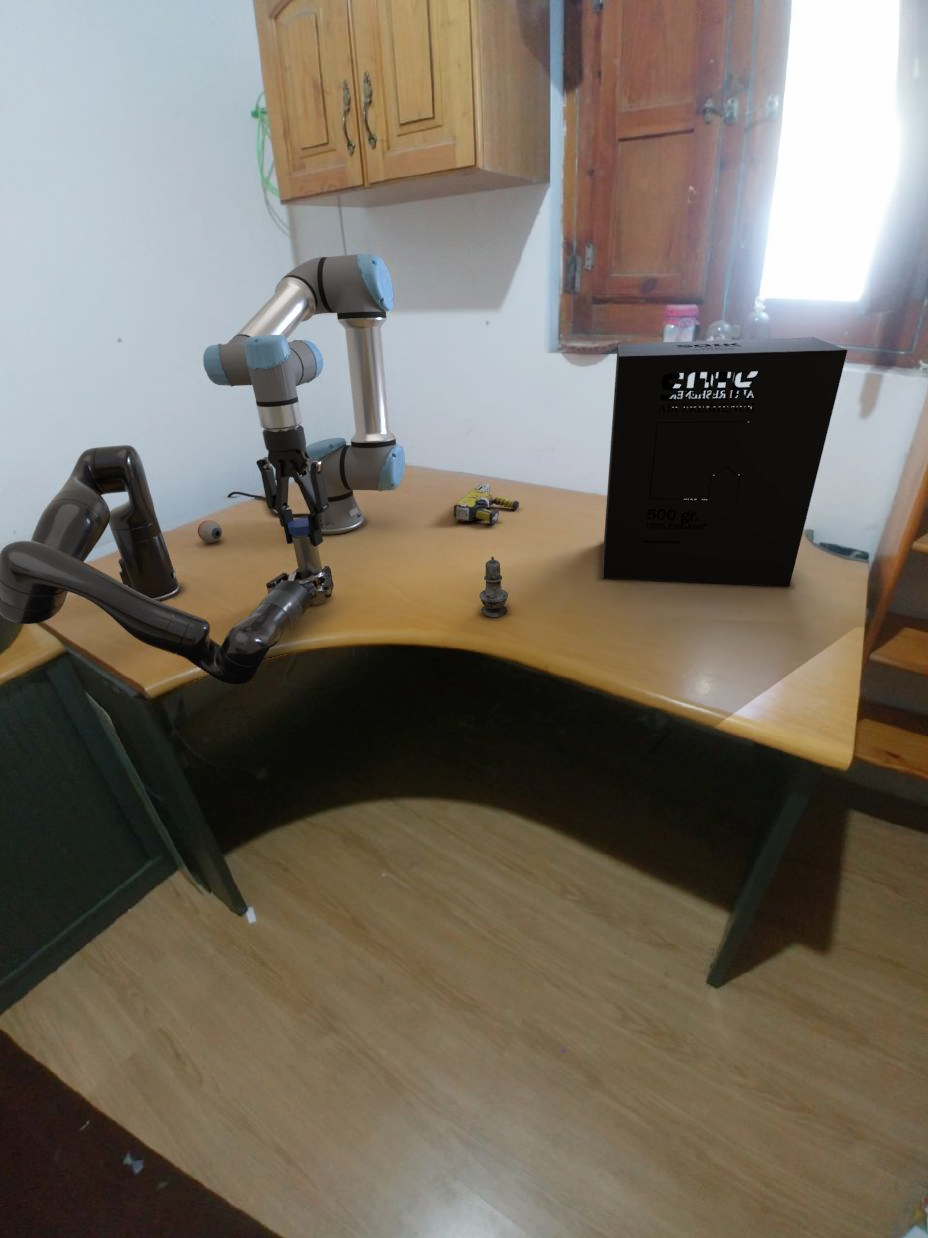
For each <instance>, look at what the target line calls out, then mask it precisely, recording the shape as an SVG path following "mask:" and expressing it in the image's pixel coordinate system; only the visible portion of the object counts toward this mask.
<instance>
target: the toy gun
mask: <svg viewBox="0 0 928 1238" xmlns="http://www.w3.org/2000/svg"><path fill="white" fill-rule="evenodd" d="M493 505H495V506H500V507H504V508H510V509H512V510H514V511H516V510H518V509H519V507H520V502H519V501H518V500H512V499H508V498H504V497H500V496H496V497H495V498H493V496H492V494H491V485H490V484H488V483H486V484H485V483H482V482H481V483H480V484H479V485H477V486H476V487H475V488H473V489H471V491H469V492H468V493H467V494H465V496H464V497H462V498H461V499H460V500H459V501H458V502H456V503H455V504H454V505H453V511H452V513H453V514H452V517H453V518H454V519H455V520H457V522H462V523H464V522H465V521H467V522H471V521H477V520H482V521H483V520H484V521H486V522H489V525H492V526H493V524H495V523H497V522H498V521H499V515H500V509H498V508H494V510H493V509H492V507H491V506H493Z"/></svg>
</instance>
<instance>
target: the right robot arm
mask: <svg viewBox="0 0 928 1238" xmlns="http://www.w3.org/2000/svg"><path fill="white" fill-rule="evenodd" d="M394 298H395V297H394V289H393V283H392V279H391V275H390V273H389V270H388V268H387V266H386V264H385V262H384V261H383V259H382V258H381V257H380V256H379V255H377V254H371V253H369V254H367V253H365V254H364V253H358V254H347V255H336V256H335V255H334V256H319V257H313V258H311V259H309V260H306V261H305V262H303V263H301V264H299V265H298V266H296V267H295V268H293V269H292V270H290V271H289V272H288V273H286V274H285V275H284V276H283V277H282V278H281V279H280V280H279V281H278V283H277V284H276V286H275V288H274V294H272V296H271V297H270V298H269V299H268V300H267V301H266V302H265V303H264V304H263V306H261V308H259V310H258V311H256V312H255V314H254V315H253V316H252V317H251V318H250V319H249V320H248V321H247V322H246V323H245V324H244V325H243V327H242V328H241V329H240V330H239V331H238V332H237V333H235V335H233V337H232V338H231V339H230V340H229V341H228V342H227V343H224V344H223V343H217V344H212V345H209V346H207V347H206V348H205V350H204V353H203V357H202V365H203V368H204V371H205V373H206V376H207V377H208V379H209V380H210V382H212V384H215V385H216V386H228V387H235V386H237V387H238V386H240V387H241V386H252V390H253V394H254V398H255V405H256V410H257V415H258V419H259V425H260V427H261V428H262V429H263V430H262V432H261V433H262V438H263V442H264V447H265V450H266V451H268V452H267V456H264V457H262V458H260V459H257V460H256V462H255V463H256V466H257V467H258V470H259V471H260V476H261V481H262V485H263V490H264V496H263V495H256V494H251V493H247V492H242V491H233V492H230V493H228V495H227V498H231V497H232V496H233V495H241V496H245V497H249V498H255V499H260V500H264V501H266V505H267V508H268V509H269V510H270V512H271V513H272V514H273V515H274V516H276V517H278V519H279V524H280V526H281V527H282V528H283V530H284V535H285V539H286V540H285V541H286V544H287V545H291V544H293V540H292V535H291V534H290V533H289V531H288V523H289V522H290V521H292V520H295V519H294V517H295V518H296V517H306V518H308V522H309V527H310V533H311V538H312V543H313V546H318V547H319V546H320V544H322V543H323V542H324V539H323V538H324V537H323V536H324V535H325V536H327V535H329V536H331V535H339V534H340V535H341V534H345V533H350V532H353V531H355V530H357V529H359V528H361V527H362V526H363V525H364V523H365V519H364V514H363V512H362V510H361V508H360V505H359V504H358V501H357V500H356V498H355V495H354V491H377V492H384V491H394V490H396V489H398V487H400V485H401V483H402V481H403V478H404V473H405V469H406V468H405V467H406V454H405V449H404V447H403V446H402V445H401V444H397V437H396V436H395V435H394V434H393V433H392V432H391V430H390V423H389V411H388V410H389V409H388V398H387V387H386V386H387V385H386V374H385V360H384V348H383V336H382V327H383V325H384V324H385V323H386V321H387V319H388V317H387V312H389V311H391V310H392V309H393V307H394ZM321 314H322V315H323V314H336V317H337V322H338V323H339V324H340V325H341V326H342V327H343V328H344V332H345V342H346V351H347V361H348V371H349V372H348V373H349V380H350V391H351V399H352V409H353V421H354V428H355V429H354V430H355V433H354V434H353V436H351V438H350V444H347V441H346V439H345V438H343V437H331V438H325V439H322V440H318V441H315V442H313V443H309V444H308V445H307V439H306V435H305V428H304V427H303V425H301V424H302V423H303V418H302V413H301V407H300V401H299V397H298V392H297V387H298V386H301V385H304V384H309V383H310V382H312V381H314V380H315V379H316V378H318V377H319V376H320V374H321V373H322V371H323V368H324V357H323V354H322V352H321V350H320V349H319V347H318V346H317V345H316V344H315V343H313V342H312V341H309V340H306V339H294V340H292V341H288V338H289V337H290V336H291V335H292V334H293V332H294V331H295V330H296V329H297V327H299V325H300V324H301V323H303V322H307V321H309V320H310V319H311V318H312V317H313V316H317V315H321ZM274 469H275V471H274ZM290 478H293V481H294V483H296V485H297V486H298V489H299V491H300V493H301V494H302V497H303V500H304V502H305V504H306V507H307V509H308V511H309V513H308V512H307V513H304V512H303V513H302V512H301V513H293V510H292V508H290V505H289V486H290V484H289V483H290Z"/></svg>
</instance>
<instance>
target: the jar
mask: <svg viewBox="0 0 928 1238" xmlns="http://www.w3.org/2000/svg"><path fill="white" fill-rule="evenodd" d="M292 540H293V543H292V544H293V548H294V555H295V559H296V563H297V568H298V569H299V574H300V578H301V580H305V579H307V578H309V577H310V576H312V575H314V576H316V575H318V574H319V573H320V572H321V570H322V569H323V566H322V561H321V555H320V549H319V545H318V546H313V543H312V538H311V534H309V535H304V536H293V535H292ZM319 583H320V579H319ZM328 599H329V598H326V597H325V595H317V597H316V598H314V599H312V600H311V602H310V605H309V606H311V607H312V606H319V605H323V604H325V603H326V602H328Z"/></svg>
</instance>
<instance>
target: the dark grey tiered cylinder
mask: <svg viewBox="0 0 928 1238" xmlns="http://www.w3.org/2000/svg"><path fill="white" fill-rule="evenodd" d="M483 579H484V581H485V589H484V590H482V591H480V593H479V594H478V597H479V600H480V601H481V604H482V605H483V606H482V608H481V609H480V610H481V614H482V615H484V616H485V617H490V618H497V617H498V618H499V617H502V616H504V615H506V614H507V612H508V607H507V606H505V605H506V603H507V601H508V600H507V599H508V598H509V593H508V591H506V590H505V589H504V588H502V580H503V576H502V575H501V563H500V562H499V560H496V559H495V557H494V556H493V555H492V556H491V557H490V559H489V560H488V561H486V562H485V575H484V576H483Z"/></svg>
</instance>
